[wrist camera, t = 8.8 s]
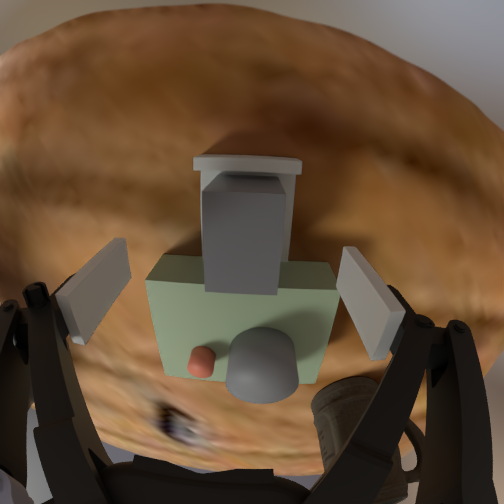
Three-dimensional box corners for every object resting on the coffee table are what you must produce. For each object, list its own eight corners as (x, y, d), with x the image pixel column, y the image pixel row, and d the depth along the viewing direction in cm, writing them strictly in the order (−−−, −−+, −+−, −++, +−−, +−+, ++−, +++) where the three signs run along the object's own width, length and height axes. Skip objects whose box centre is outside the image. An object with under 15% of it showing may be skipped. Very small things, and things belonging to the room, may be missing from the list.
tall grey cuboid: (217, 250, 25) (204, 291, 19) (218, 174, 22) (201, 191, 16) (272, 253, 25) (277, 295, 19) (278, 176, 22) (286, 194, 16)
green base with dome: (175, 344, 31) (156, 403, 22) (157, 155, 22) (105, 170, 14) (309, 351, 31) (320, 413, 22) (341, 163, 22) (387, 181, 14)
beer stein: (309, 422, 38) (330, 526, 20) (301, 388, 34) (329, 520, 15) (394, 394, 37) (435, 486, 19) (402, 355, 33) (462, 464, 14)
